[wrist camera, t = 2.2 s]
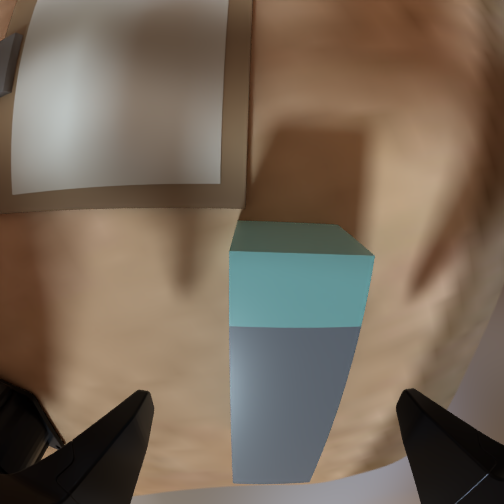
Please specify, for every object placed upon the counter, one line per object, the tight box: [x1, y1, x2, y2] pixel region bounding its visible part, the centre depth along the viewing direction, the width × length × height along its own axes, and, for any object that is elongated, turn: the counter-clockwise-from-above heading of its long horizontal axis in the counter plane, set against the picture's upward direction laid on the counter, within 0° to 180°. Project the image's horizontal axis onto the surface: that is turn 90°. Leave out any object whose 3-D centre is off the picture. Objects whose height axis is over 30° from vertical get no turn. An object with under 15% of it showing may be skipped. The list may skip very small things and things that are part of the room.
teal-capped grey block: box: [229, 221, 375, 484], centre depth 10 cm, size 11×4×4 cm, turn 178°
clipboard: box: [0, 0, 253, 214], centre depth 7 cm, size 14×12×1 cm
